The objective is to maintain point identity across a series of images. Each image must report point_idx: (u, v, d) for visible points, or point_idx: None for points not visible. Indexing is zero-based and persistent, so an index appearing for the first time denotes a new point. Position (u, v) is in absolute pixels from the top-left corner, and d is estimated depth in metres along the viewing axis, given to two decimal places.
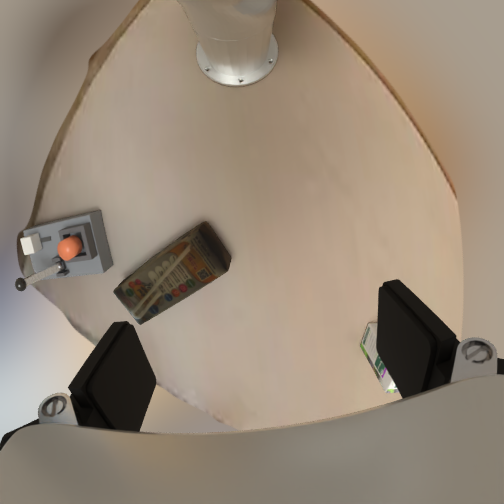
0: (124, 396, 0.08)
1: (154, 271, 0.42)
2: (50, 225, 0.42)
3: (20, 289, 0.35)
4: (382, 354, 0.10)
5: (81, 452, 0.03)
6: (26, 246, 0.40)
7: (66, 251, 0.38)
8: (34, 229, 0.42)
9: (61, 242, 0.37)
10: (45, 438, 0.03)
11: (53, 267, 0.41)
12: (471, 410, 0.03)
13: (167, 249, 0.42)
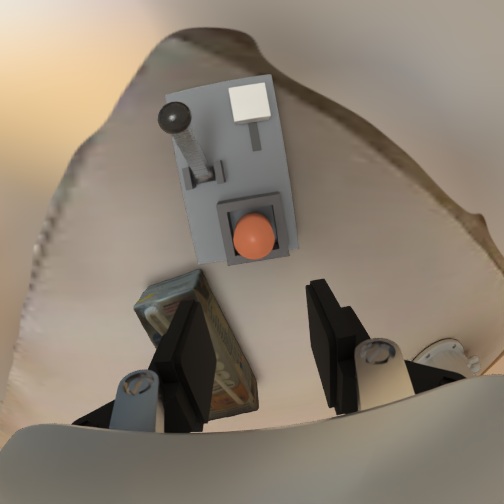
0: (200, 371, 0.09)
1: (217, 359, 0.31)
2: (282, 154, 0.26)
3: (164, 124, 0.16)
4: (313, 349, 0.11)
5: (81, 452, 0.03)
6: (247, 99, 0.21)
7: (252, 243, 0.23)
8: (274, 107, 0.24)
9: (270, 233, 0.23)
10: (45, 438, 0.03)
11: (204, 170, 0.23)
12: (471, 410, 0.03)
13: (242, 375, 0.32)
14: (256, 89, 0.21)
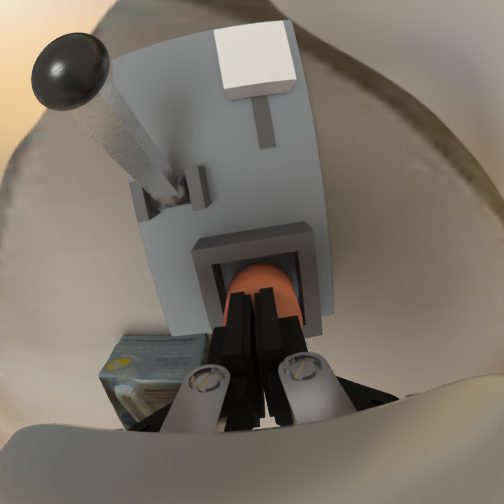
0: (257, 364, 0.09)
1: None
2: (313, 154, 0.14)
3: (36, 87, 0.05)
4: None
5: (81, 452, 0.03)
6: (250, 47, 0.10)
7: None
8: (298, 72, 0.13)
9: (296, 314, 0.11)
10: (45, 438, 0.03)
11: (166, 186, 0.12)
12: (471, 410, 0.03)
13: None
14: (267, 31, 0.10)
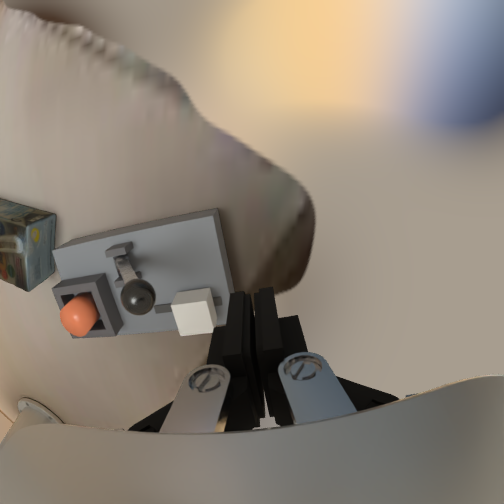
0: (257, 364, 0.09)
1: None
2: (156, 329, 0.27)
3: (124, 295, 0.15)
4: None
5: (81, 452, 0.03)
6: (195, 317, 0.23)
7: (70, 320, 0.22)
8: None
9: (81, 334, 0.22)
10: (45, 438, 0.03)
11: (121, 275, 0.22)
12: (471, 410, 0.03)
13: None
14: (206, 325, 0.23)
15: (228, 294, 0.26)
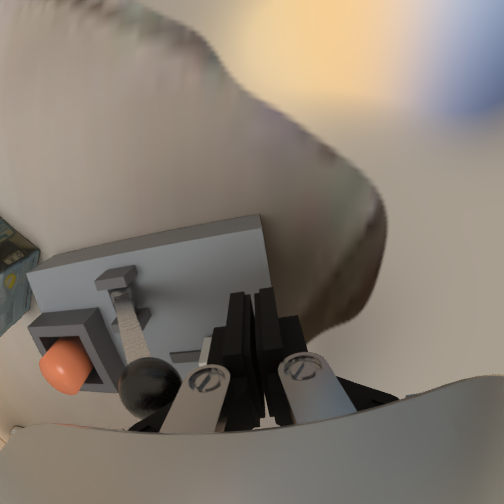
0: (257, 364, 0.09)
1: None
2: None
3: (126, 394, 0.07)
4: None
5: (81, 452, 0.03)
6: None
7: (54, 374, 0.14)
8: None
9: (70, 392, 0.14)
10: (45, 438, 0.03)
11: None
12: (471, 410, 0.03)
13: None
14: None
15: None
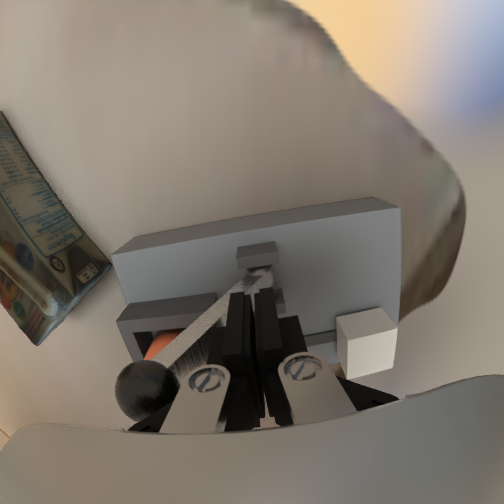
0: (257, 364, 0.09)
1: None
2: None
3: None
4: None
5: (81, 452, 0.03)
6: (376, 352, 0.15)
7: None
8: None
9: None
10: (45, 438, 0.03)
11: None
12: (471, 410, 0.03)
13: None
14: (386, 360, 0.15)
15: (397, 314, 0.17)
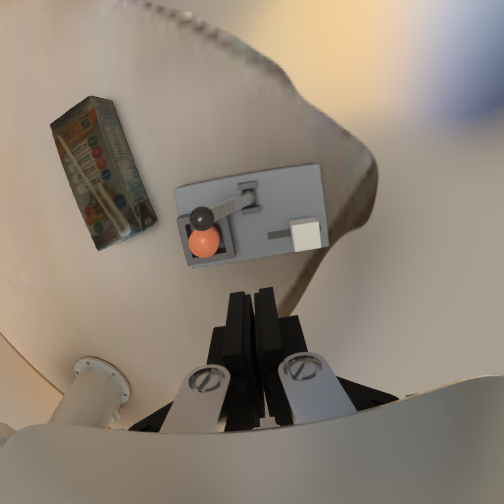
0: (257, 364, 0.09)
1: (77, 185, 0.31)
2: (265, 254, 0.35)
3: (190, 214, 0.25)
4: None
5: (81, 452, 0.03)
6: (308, 235, 0.32)
7: (200, 242, 0.31)
8: None
9: (208, 255, 0.31)
10: (45, 438, 0.03)
11: None
12: (471, 410, 0.03)
13: None
14: (316, 241, 0.32)
15: (325, 223, 0.34)
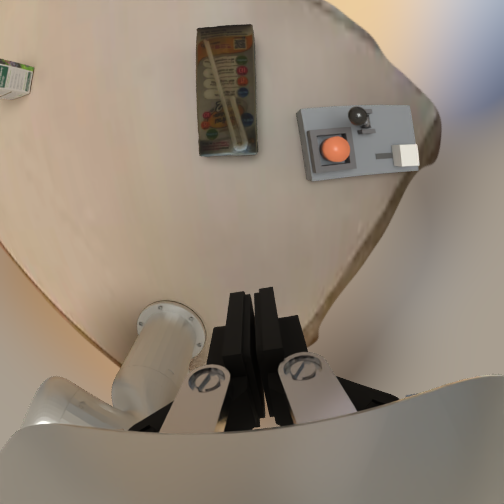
0: (257, 364, 0.09)
1: (207, 89, 0.33)
2: (373, 172, 0.38)
3: (349, 111, 0.27)
4: None
5: (81, 452, 0.03)
6: (411, 154, 0.34)
7: (335, 148, 0.33)
8: (400, 170, 0.37)
9: (341, 159, 0.33)
10: (45, 438, 0.03)
11: None
12: (471, 410, 0.03)
13: (196, 66, 0.32)
14: (415, 160, 0.34)
15: None
